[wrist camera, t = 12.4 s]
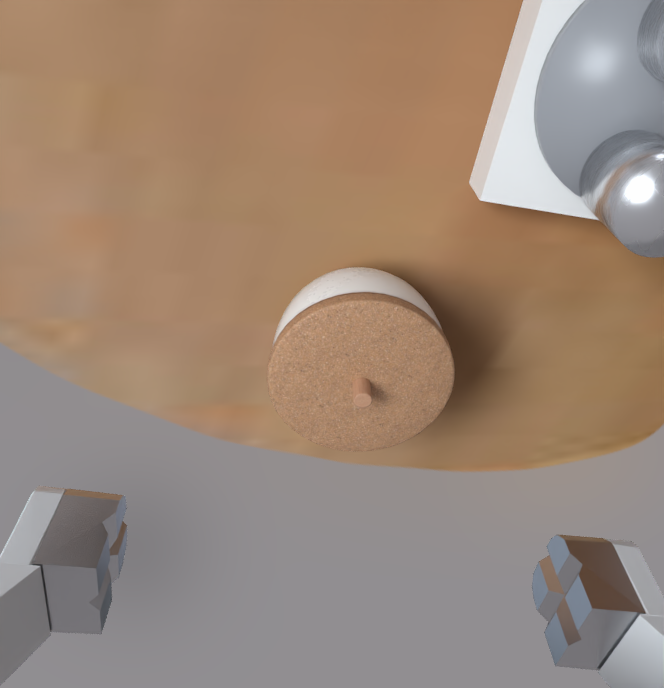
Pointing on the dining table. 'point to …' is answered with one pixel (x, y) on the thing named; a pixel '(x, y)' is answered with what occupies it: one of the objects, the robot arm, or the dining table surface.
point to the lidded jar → (359, 361)
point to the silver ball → (652, 39)
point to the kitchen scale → (564, 101)
